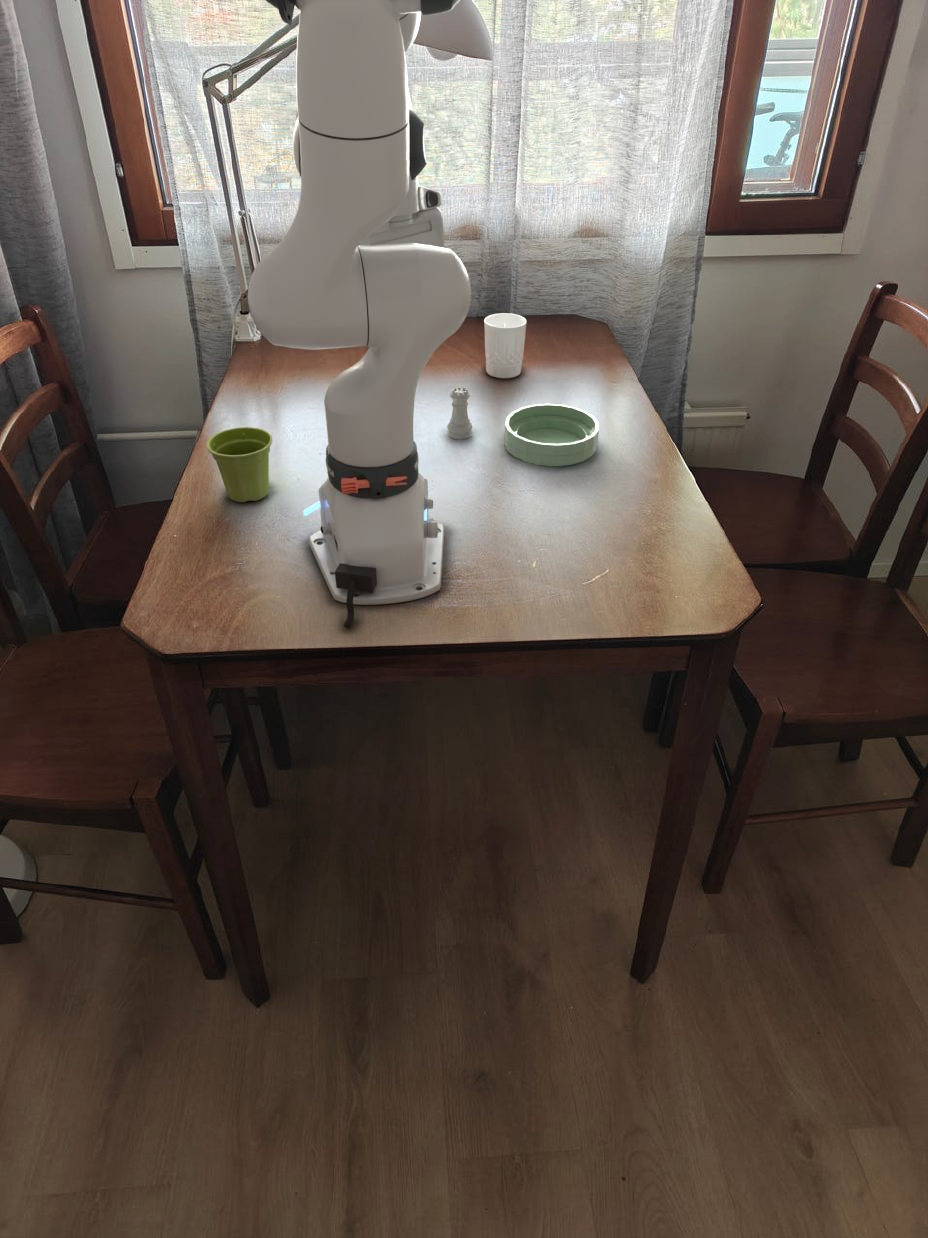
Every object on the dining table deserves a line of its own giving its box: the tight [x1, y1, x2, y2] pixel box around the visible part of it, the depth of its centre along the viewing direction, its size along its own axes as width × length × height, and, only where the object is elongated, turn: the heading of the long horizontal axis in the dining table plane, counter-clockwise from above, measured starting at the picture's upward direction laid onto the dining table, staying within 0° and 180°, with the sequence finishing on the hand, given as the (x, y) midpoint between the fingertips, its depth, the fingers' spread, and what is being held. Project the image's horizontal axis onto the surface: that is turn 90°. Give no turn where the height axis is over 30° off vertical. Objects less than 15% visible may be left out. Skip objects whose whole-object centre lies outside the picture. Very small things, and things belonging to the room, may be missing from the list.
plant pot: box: [206, 426, 273, 503], centre depth 130 cm, size 9×9×9 cm
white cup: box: [483, 312, 527, 379], centre depth 166 cm, size 8×8×10 cm
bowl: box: [503, 403, 600, 467], centre depth 143 cm, size 15×15×4 cm
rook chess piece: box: [446, 386, 474, 441], centre depth 146 cm, size 4×4×8 cm
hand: (398, 293), depth 142 cm, fingers open, 8 cm apart
